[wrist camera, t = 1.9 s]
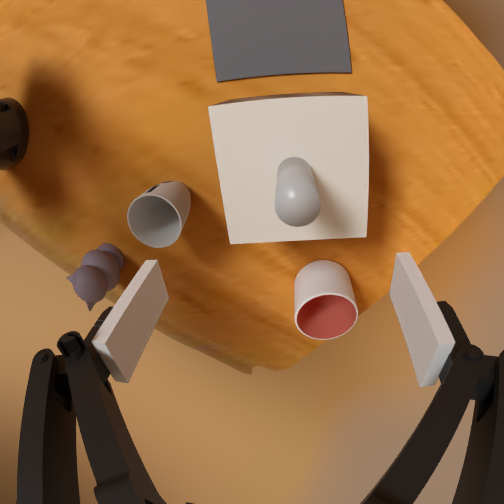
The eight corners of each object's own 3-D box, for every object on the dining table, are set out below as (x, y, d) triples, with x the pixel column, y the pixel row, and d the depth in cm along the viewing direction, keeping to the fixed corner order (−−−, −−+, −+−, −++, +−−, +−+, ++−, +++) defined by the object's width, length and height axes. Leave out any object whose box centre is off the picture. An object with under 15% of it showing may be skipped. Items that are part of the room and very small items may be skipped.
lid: (232, 237, 38) (215, 291, 29) (211, 105, 30) (180, 116, 21) (363, 230, 36) (386, 283, 27) (362, 95, 28) (397, 102, 19)
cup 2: (284, 290, 57) (283, 328, 48) (311, 247, 52) (315, 283, 43) (330, 308, 58) (335, 346, 49) (359, 269, 53) (370, 306, 44)
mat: (217, 81, 39) (216, 81, 39) (203, -24, 30) (202, -25, 30) (351, 72, 36) (351, 72, 36) (335, -35, 27) (335, -36, 27)
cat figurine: (135, 270, 58) (109, 310, 48) (107, 278, 60) (81, 316, 50) (115, 234, 54) (82, 269, 44) (87, 244, 56) (55, 279, 46)
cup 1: (174, 161, 46) (149, 181, 37) (210, 197, 49) (193, 224, 40) (144, 194, 49) (117, 220, 41) (178, 226, 52) (158, 257, 43)
